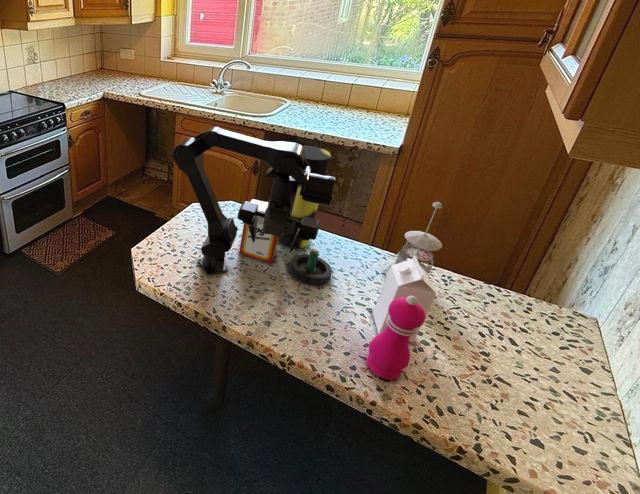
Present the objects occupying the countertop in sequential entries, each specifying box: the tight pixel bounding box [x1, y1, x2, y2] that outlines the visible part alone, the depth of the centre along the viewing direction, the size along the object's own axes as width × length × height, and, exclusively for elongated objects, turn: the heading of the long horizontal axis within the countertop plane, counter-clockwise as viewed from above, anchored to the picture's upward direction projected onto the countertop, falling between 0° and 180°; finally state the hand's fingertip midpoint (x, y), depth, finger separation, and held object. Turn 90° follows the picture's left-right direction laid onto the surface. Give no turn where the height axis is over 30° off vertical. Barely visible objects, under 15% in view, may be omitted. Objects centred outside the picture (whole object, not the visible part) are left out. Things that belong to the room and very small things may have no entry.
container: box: [278, 145, 332, 250], centre depth 119 cm, size 11×11×30 cm
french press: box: [385, 201, 443, 279], centre depth 104 cm, size 10×12×25 cm
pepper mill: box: [366, 296, 427, 381], centre depth 81 cm, size 7×7×20 cm
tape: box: [289, 253, 333, 286], centre depth 112 cm, size 10×10×2 cm
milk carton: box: [372, 255, 437, 343], centre depth 90 cm, size 7×7×19 cm
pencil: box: [304, 248, 320, 275], centre depth 110 cm, size 2×2×8 cm
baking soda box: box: [238, 198, 279, 264], centre depth 117 cm, size 10×6×16 cm
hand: (271, 246), depth 103 cm, fingers open, 9 cm apart
